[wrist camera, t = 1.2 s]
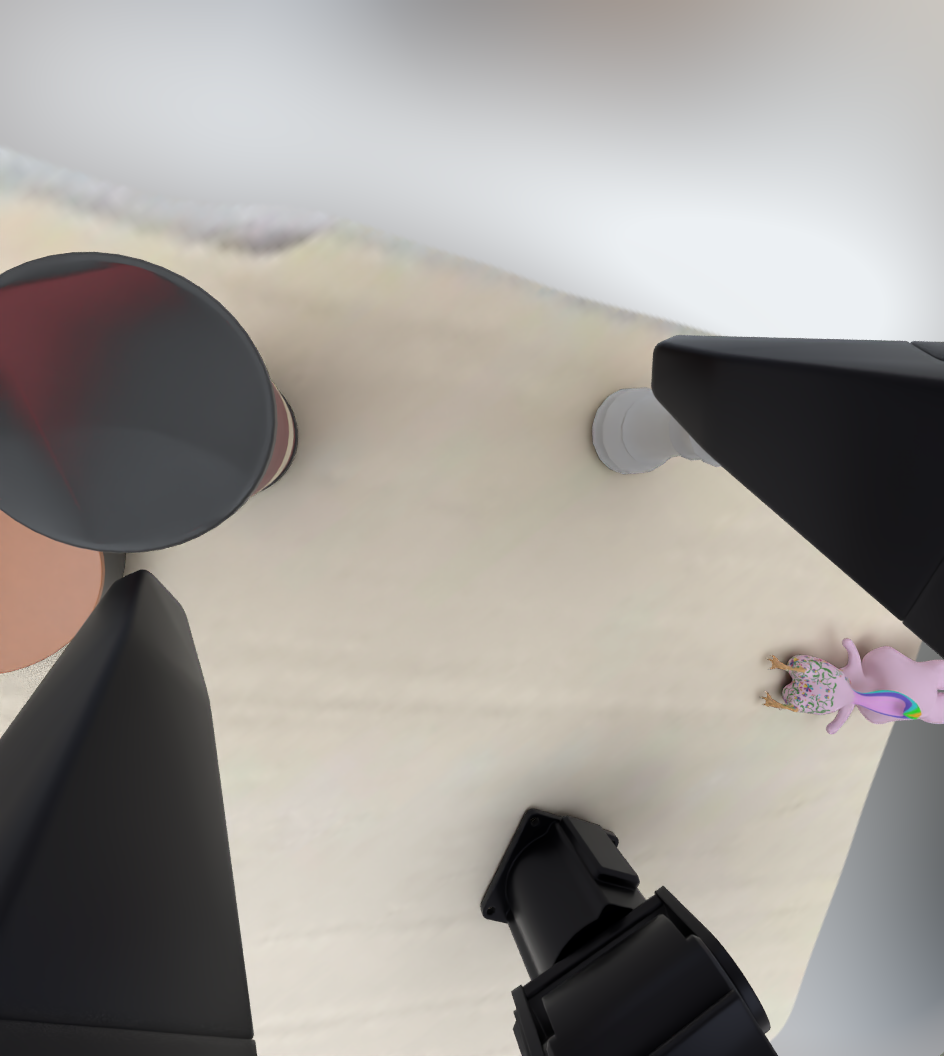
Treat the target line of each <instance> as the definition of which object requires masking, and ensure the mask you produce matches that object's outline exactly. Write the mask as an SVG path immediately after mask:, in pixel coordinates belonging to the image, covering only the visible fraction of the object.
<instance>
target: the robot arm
mask: <svg viewBox="0 0 944 1056" xmlns="http://www.w3.org/2000/svg"><path fill="white" fill-rule="evenodd" d="M651 388H652V392H653V395H654V396H655V398H656V399H657V401H658V402H659V403H660V404H661V405H662V406H663V407H664V408H665V409H666V410H667V411H668V412H669V414H670V415H671V416H672V417H673V418H674V419H675V420H676V421H677V422H678V423H679V424H680V425H681V426H682V428H683V429H684V430H685V431H686V432H687V433H688V434H689V435H690V436H691V437H692V438H693V439H694V440H695V442H696V443H697V444H698V445H699V446H700V447H701V448H702V449H703V450H704V451H705V452H706V453H707V454H708V455H709V456H711V457H712V458H713V459H714V460H715V461H716V462H717V463H718V464H720V465H721V466H722V467H723V468H724V469H725V470H727V471H728V472H729V473H730V474H731V475H732V476H733V477H735V478H736V479H737V480H738V481H739V482H740V483H742V484H743V485H744V486H745V487H746V488H747V489H749V490H750V491H751V492H752V493H753V494H754V495H755V496H757V497H758V498H759V499H760V500H761V501H762V502H764V503H765V504H766V505H767V506H768V507H769V508H770V509H772V510H773V511H774V512H775V513H776V514H777V515H779V516H780V517H781V518H782V519H783V520H784V521H785V522H787V523H788V524H789V525H790V526H791V527H792V528H794V529H795V530H796V531H797V532H798V533H799V534H801V535H802V536H803V537H804V538H805V539H806V540H807V541H809V542H810V543H811V544H812V545H813V546H814V547H816V548H817V549H818V550H819V551H820V552H821V553H822V554H824V555H825V556H826V557H827V558H828V559H829V560H831V561H832V562H833V563H834V564H835V565H836V566H838V567H839V568H840V569H841V570H842V571H843V572H844V573H846V574H847V575H848V576H849V577H850V578H851V579H853V580H854V581H855V582H856V583H857V584H858V585H859V586H861V587H862V588H863V589H864V590H865V591H866V592H868V593H869V594H870V595H871V596H872V597H873V598H874V599H876V600H877V601H878V602H879V603H880V604H881V605H883V606H884V607H885V608H886V609H887V610H888V611H890V612H891V613H892V614H893V615H894V616H895V617H896V618H898V619H899V620H900V621H903V624H904V625H905V626H906V627H907V628H908V629H910V630H911V631H912V632H913V633H914V634H915V635H917V636H918V637H919V638H920V639H921V640H922V641H924V642H925V643H926V644H927V645H928V646H929V647H930V648H932V649H933V650H934V651H935V652H936V653H937V654H939V655H940V656H941V657H942V658H943V659H944V342H924V341H923V342H922V341H913V342H911V343H909V342H907V341H882V340H844V339H804V338H767V337H728V336H690V335H677V336H673V337H671V338H669V339H667V340H664V341H662V342H660V343H658V344H657V345H656V346H655V349H654V351H653V362H652V381H651ZM533 818H535V820H533V821H531V820H532V819H533ZM618 844H619V840H618V838H617V837H616V836H615V834H614V833H613V832H611V831H607V830H604V829H602V828H601V826H600V825H597V824H594V823H591V822H587V821H584V820H581V819H577V818H574V817H571V816H563V817H561V816H558V815H554V814H551V813H548V812H544V811H541V810H538V809H530V810H529V811H527V812H526V814H525V815H524V817H523V819H522V821H521V823H520V825H519V827H518V829H517V831H516V833H515V835H514V838H513V840H512V842H511V844H510V846H509V848H508V850H507V852H506V854H505V856H504V858H503V860H502V862H501V864H500V866H499V868H498V870H497V872H496V874H495V876H494V879H493V881H492V883H491V885H490V887H489V889H488V891H487V893H486V895H485V897H484V899H483V901H482V903H481V906H480V907H481V911H482V914H483V916H484V918H486V919H489V920H494V921H499V922H503V923H508V925H509V927H510V930H511V932H512V935H513V937H514V940H515V942H516V944H517V947H518V949H519V952H520V954H521V957H522V959H523V962H524V964H525V967H526V969H527V972H528V974H529V977H530V979H531V981H530V982H529V983H527V984H526V985H524V986H523V987H522V985H520V986H518V987H517V988H516V989H514V990H513V991H511V992H512V996H513V999H514V1002H515V1006H516V1010H515V1011H514V1015H515V1018H516V1022H515V1025H514V1027H513V1031H514V1034H515V1037H516V1040H517V1043H518V1046H519V1049H520V1051H521V1054H522V1056H778V1055H777V1053H776V1052H775V1050H774V1049H773V1047H772V1045H771V1044H770V1042H769V1040H768V1039H767V1037H766V1036H765V1033H766V1032H768V1031H769V1030H770V1028H771V1027H770V1023H769V1020H768V1017H767V1015H766V1013H765V1011H764V1009H763V1007H762V1005H761V1003H760V1001H759V999H758V997H757V996H756V994H755V992H754V991H753V989H752V987H751V986H750V984H749V983H748V981H747V979H746V978H745V976H744V975H743V973H742V972H741V970H740V969H739V967H738V966H737V965H736V963H735V962H734V960H733V959H732V958H731V956H730V955H729V954H728V952H727V951H726V950H725V948H724V947H723V946H722V945H721V944H720V942H719V941H718V940H717V939H716V938H715V937H714V936H713V934H712V933H711V932H710V931H709V930H708V929H707V928H706V927H705V926H704V925H703V924H702V923H701V922H700V921H699V920H698V919H697V918H696V917H695V916H694V915H693V914H692V913H690V912H689V911H688V910H687V909H686V908H685V907H684V906H683V905H682V904H681V903H680V902H679V901H678V900H677V899H676V898H675V897H674V896H673V895H672V894H671V893H670V892H669V891H668V890H667V889H666V888H665V887H664V886H662V887H661V888H659V889H658V890H656V891H655V895H653V896H652V897H650V898H649V899H648V900H646V899H645V898H644V896H643V895H642V894H641V892H640V891H639V890H638V888H637V887H638V885H639V883H640V881H639V878H638V875H637V874H636V872H635V871H634V870H633V869H632V867H631V866H630V865H629V863H628V862H627V861H626V859H625V858H624V857H623V855H622V854H621V853H620V851H619V850H618V849H617V846H618ZM490 907H492V908H490ZM489 908H490V909H489ZM253 1036H254V1032H253V1024H252V1016H251V1009H250V1001H249V994H248V986H247V978H246V971H245V963H244V956H243V948H242V941H241V933H240V925H239V918H238V910H237V903H236V895H235V887H234V880H233V872H232V865H231V857H230V850H229V842H228V834H227V827H226V819H225V812H224V804H223V796H222V789H221V781H220V774H219V766H218V759H217V751H216V743H215V736H214V728H213V721H212V713H211V707H210V701H209V697H208V692H207V688H206V684H205V681H204V677H203V674H202V670H201V667H200V663H199V659H198V656H197V652H196V649H195V645H194V641H193V638H192V634H191V631H190V627H189V623H188V620H187V616H186V614H185V611H184V609H183V608H182V606H181V605H180V603H179V602H178V601H177V600H176V599H175V598H174V597H173V595H172V594H171V593H170V592H169V591H168V590H167V589H166V588H165V587H164V586H163V585H162V584H161V583H160V582H159V580H158V579H157V578H156V577H155V576H154V575H153V574H152V573H150V572H149V571H147V570H139V571H136V572H134V573H132V574H129V575H127V576H125V577H122V578H120V579H118V580H116V581H115V582H114V583H113V584H112V585H111V587H110V588H109V589H108V591H107V592H106V593H105V595H104V596H103V598H102V599H101V600H100V602H99V603H98V605H97V606H96V607H95V609H94V610H93V611H92V613H91V614H90V616H89V617H88V618H87V620H86V621H85V622H84V624H83V625H82V627H81V628H80V629H79V631H78V632H77V634H76V635H75V636H74V638H73V639H72V640H71V642H70V643H69V645H68V646H67V647H66V649H65V650H64V651H63V653H62V654H61V656H60V657H59V658H58V660H57V661H56V663H55V664H54V665H53V667H52V668H51V669H50V671H49V672H48V674H47V675H46V676H45V678H44V679H43V680H42V682H41V683H40V685H39V686H38V687H37V689H36V690H35V692H34V693H33V694H32V696H31V697H30V698H29V700H28V701H27V703H26V704H25V705H24V707H23V708H22V709H21V711H20V712H19V714H18V715H17V716H16V718H15V719H14V721H13V722H12V723H11V725H10V726H9V727H8V729H7V730H6V732H5V733H4V734H3V736H2V737H1V738H0V1056H257V1051H256V1043H255V1040H253V1039H252V1038H253ZM940 1056H944V1052H943V1053H942V1054H941V1055H940Z"/></svg>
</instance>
